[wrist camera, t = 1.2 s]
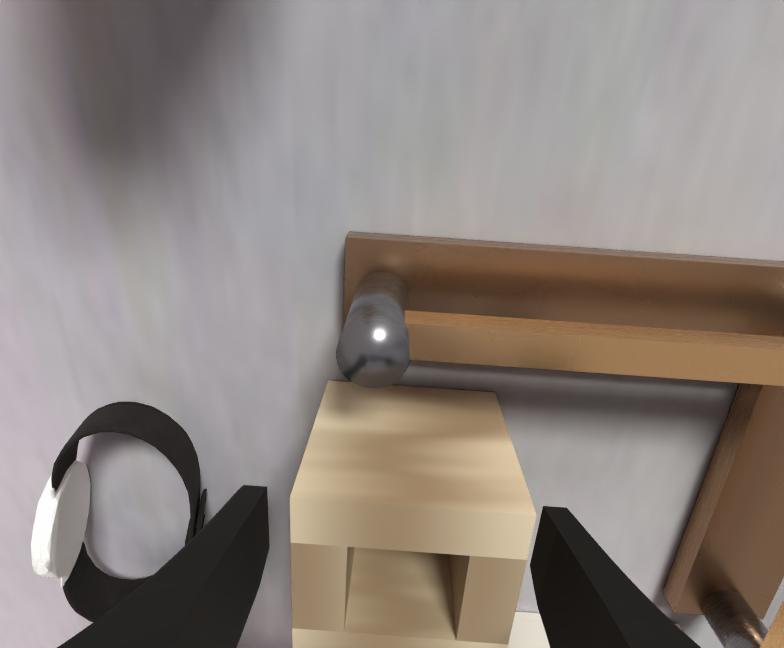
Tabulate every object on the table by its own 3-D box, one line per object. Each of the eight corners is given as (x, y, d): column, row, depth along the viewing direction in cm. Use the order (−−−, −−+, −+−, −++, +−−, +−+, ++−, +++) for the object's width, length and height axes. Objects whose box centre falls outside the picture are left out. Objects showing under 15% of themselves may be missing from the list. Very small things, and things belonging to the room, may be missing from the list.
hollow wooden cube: (495, 392, 14) (536, 515, 10) (473, 522, 16) (500, 678, 12) (328, 380, 14) (289, 496, 10) (326, 511, 16) (293, 663, 12)
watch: (71, 377, 15) (-28, 447, 12) (223, 401, 15) (169, 478, 12) (87, 559, 18) (11, 659, 14) (214, 579, 18) (169, 683, 14)
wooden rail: (899, 269, 13) (1135, 333, 9) (745, 602, 17) (851, 749, 13) (349, 231, 13) (321, 276, 9) (338, 572, 17) (317, 708, 13)
